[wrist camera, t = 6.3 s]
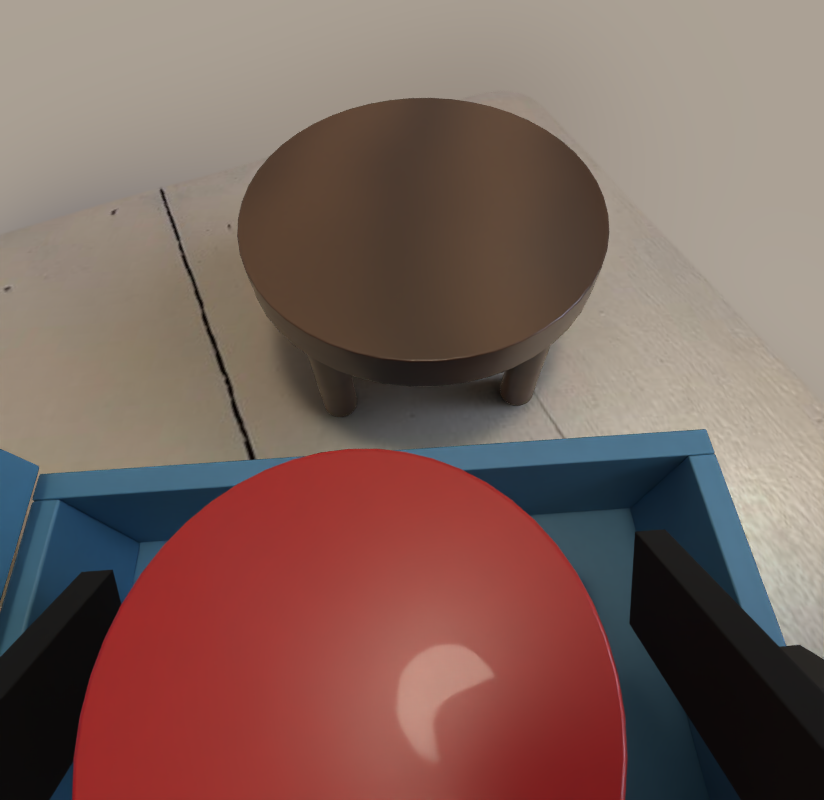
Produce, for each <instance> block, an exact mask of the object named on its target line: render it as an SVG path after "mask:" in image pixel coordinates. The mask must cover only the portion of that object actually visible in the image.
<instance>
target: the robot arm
mask: <svg viewBox="0 0 824 800" xmlns="http://www.w3.org/2000/svg"><path fill="white" fill-rule="evenodd" d="M120 606H121V601H120V597H119V592H118V588H117V584H116V580H115V576H114V572H113V570H101V571H87V572H81V573H80V574H79V575H78V576H77V577H76V578H75V579H74V580H73V581H72V583H71V584H70V585H69V586H68V587H67V588H66V589H65V590H64V591H63V592H62V593H61V594H60V595H59V596H58V597H57V598H56V599H55V600H54V601H53V602H52V603H51V604H50V606H49V607H48V608H47V609H46V610H45V611H44V612H43V613H42V614H41V615H40V616H39V617H38V618H37V619H36V620H35V621H34V622H33V623H32V624H31V625H30V626H29V627H28V628H27V630H26V631H25V632H24V633H23V634H22V635H21V636H20V637H19V638H18V639H17V640H16V641H15V642H14V643H13V644H12V645H11V646H10V647H9V648H8V649H7V650H6V651H5V652H4V654H3V655H2V656H1V657H0V800H50V798H51V797H52V795H53V794H54V792H55V790H56V789H57V787H58V786H59V784H60V782H61V781H62V779H63V777H64V776H65V774H66V773H67V771H68V769H69V768H70V766H71V765H72V763H73V759H74V752H75V745H76V738H77V732H78V725H79V718H80V713H81V710H82V706H83V702H84V698H85V694H86V690H87V686H88V683H89V679H90V675H91V673H92V670H93V667H94V665H95V662H96V659H97V657H98V654H99V651H100V649H101V646H102V643H103V641H104V638H105V636H106V634H107V632H108V630H109V628H110V626H111V624H112V622H113V620H114V618H115V616H116V614H117V612H118V610H119V608H120ZM629 624H630V626H631V627H632V629H633V630H634V632H635V634H636V635H637V637H638V638H639V640H640V641H641V643H642V645H643V646H644V648H645V649H646V651H647V652H648V654H649V656H650V657H651V659H652V660H653V662H654V663H655V665H656V667H657V668H658V670H659V671H660V673H661V675H662V676H663V678H664V679H665V681H666V682H667V684H668V686H669V687H670V689H671V690H672V692H673V693H674V695H675V697H676V698H677V700H678V701H679V703H680V704H681V706H682V708H683V709H684V711H685V712H686V714H687V716H688V717H689V719H690V720H691V722H692V723H693V725H694V727H695V728H696V730H697V731H698V733H699V734H700V736H701V738H702V739H703V741H704V742H705V744H706V745H707V747H708V749H709V750H710V752H711V753H712V755H713V757H714V758H715V760H716V761H717V763H718V764H719V766H720V768H721V769H722V771H723V772H724V774H725V775H726V777H727V779H728V780H729V782H730V783H731V785H732V786H733V788H734V790H735V791H736V793H737V794H738V796H739V797H740V799H741V800H824V659H822V658H820V657H819V656H817V655H815V654H814V653H812V652H811V651H809V650H807V649H806V648H804V647H802V646H801V645H794V646H781V647H779V646H778V645H777V644H776V643H775V642H774V641H773V640H772V639H771V638H770V637H769V635H768V634H767V633H766V632H765V631H764V630H763V629H762V628H761V627H760V626H759V625H758V624H757V623H756V622H755V621H754V620H753V619H752V618H751V617H750V616H749V615H748V614H747V613H746V612H745V611H744V610H743V609H742V608H741V607H740V606H739V605H738V604H737V603H736V602H735V601H734V600H733V599H732V598H731V597H730V595H729V594H728V593H727V592H726V591H725V590H724V589H723V588H722V587H721V586H720V585H719V584H718V583H717V582H716V581H715V580H714V579H713V578H712V577H711V576H710V575H709V574H708V573H707V572H706V571H705V570H704V569H703V568H702V567H701V566H700V565H699V564H698V563H697V562H696V561H695V560H694V559H693V558H692V557H691V555H690V554H689V553H688V552H687V551H686V550H685V549H684V548H683V547H682V546H681V545H680V544H679V543H678V542H677V541H676V540H675V539H674V538H673V537H672V536H671V535H670V534H669V533H668V532H667V531H666V530H665V529H663V530H649V531H636V532H635V540H634V556H633V572H632V588H631V605H630V621H629Z"/></svg>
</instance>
